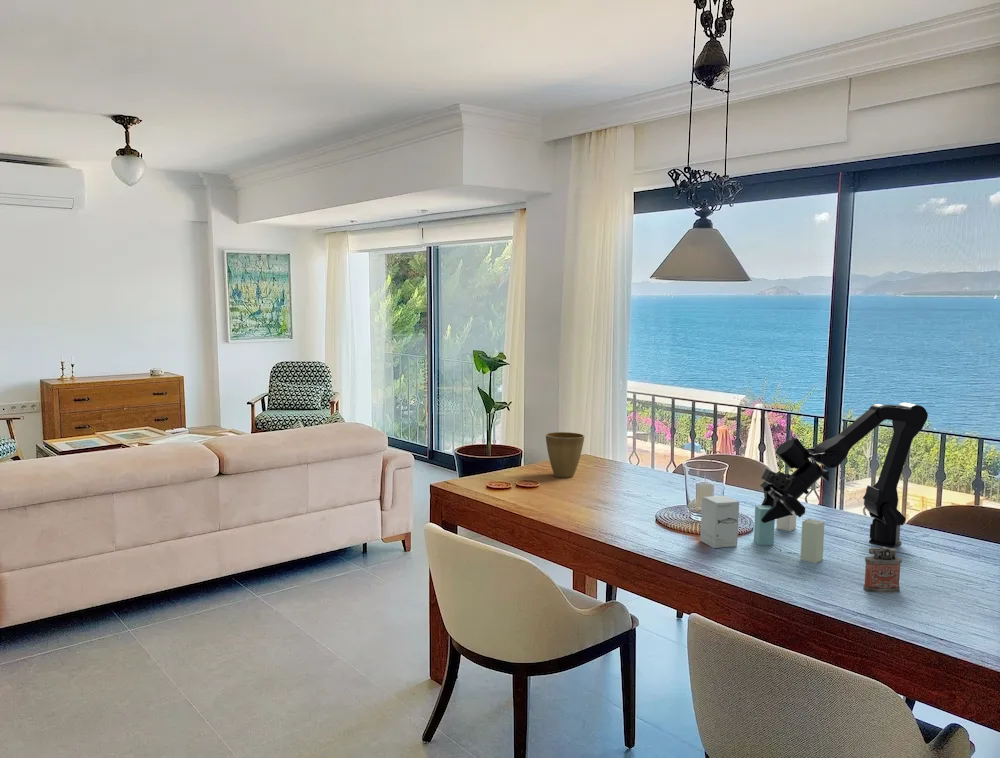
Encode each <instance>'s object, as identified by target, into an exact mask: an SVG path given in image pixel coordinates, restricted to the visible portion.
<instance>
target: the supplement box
mask: <svg viewBox="0 0 1000 758" xmlns="http://www.w3.org/2000/svg"><path fill="white" fill-rule="evenodd" d="M700 512H701V514H700V515H701V516H700V517H701V518H700V539H699V540H700V542H702V543H704V544H706V545H708V546H709V547H711V548H712V549H718V548H719V549H720V548H729V547H731V548H732V547H738V540H739V537H738V536H739V535H738V533H739V515H740V514H739V513H740V501H739V500H736V499H734V498H733V497H732V498H731V497H729V496H727V495H716V496H715V495H714V496H713V495H712V496H702V497H701V511H700Z"/></svg>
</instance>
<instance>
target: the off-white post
mask: <svg viewBox="0 0 1000 758" xmlns="http://www.w3.org/2000/svg"><path fill="white" fill-rule="evenodd" d="M791 513H792V514H793V515H792V516H791V515H789V516H785V517H782V518H778V519H776V529H778V530H782V531H787V532H791V531H793V530H796V528H797V515H796V514H795V512H794V511H792V512H791Z"/></svg>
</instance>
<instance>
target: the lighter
mask: <svg viewBox="0 0 1000 758" xmlns="http://www.w3.org/2000/svg"><path fill="white" fill-rule="evenodd" d="M897 551H898V550H897V549H896V548H888V547H887V546H882V547H869V548H868V554H870V555H871V556H870V555H869V556H865V557H864V560H865V561H864V562H865V567H864V568H865V569H864V570H865V571H864V573H865V574H864V584H863V591H865V592H868V593H876V594H877V593H879V594H881V593H882V594H887V593H889V594H891V593H900V592H901V591H900V590H901V587H900V580H901V579H900V575H901V564H902V558H900V557H898V556H897Z"/></svg>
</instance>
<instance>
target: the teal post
mask: <svg viewBox="0 0 1000 758" xmlns="http://www.w3.org/2000/svg"><path fill="white" fill-rule="evenodd" d="M770 508H771V506H770V505H762V504H761V505H755V507H754V526H753V527H754V528H753V529H754V530H753V541H754V542H755V543H756V544H757V545H758V546H774V543H775V523H776V519H775V520H772V521H769V522H766V523H763V522H762V521H761V519H762V518H763V517H764V515H765V514H766V513H767V512H768V511H769V510H770Z"/></svg>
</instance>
